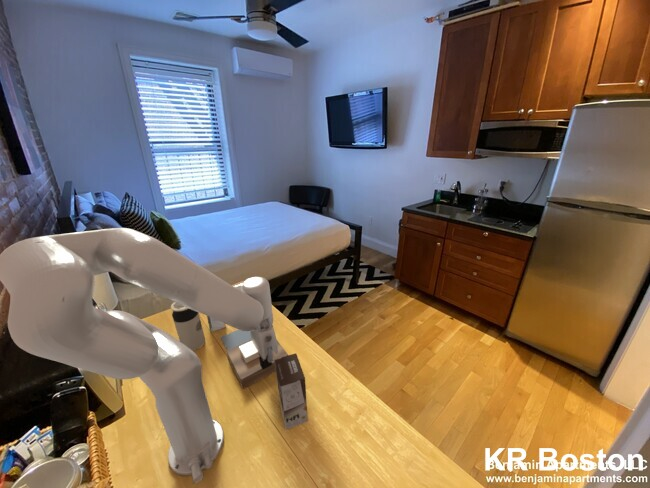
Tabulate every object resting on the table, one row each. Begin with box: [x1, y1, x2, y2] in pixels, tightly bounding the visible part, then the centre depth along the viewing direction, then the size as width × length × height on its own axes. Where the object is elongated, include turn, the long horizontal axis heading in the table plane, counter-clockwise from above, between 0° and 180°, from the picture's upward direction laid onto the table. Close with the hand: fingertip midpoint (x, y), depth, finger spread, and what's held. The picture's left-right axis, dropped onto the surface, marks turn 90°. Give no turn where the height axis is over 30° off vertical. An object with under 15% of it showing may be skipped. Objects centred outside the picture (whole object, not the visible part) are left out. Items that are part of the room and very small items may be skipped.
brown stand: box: [226, 338, 289, 390], centre depth 91 cm, size 14×16×4 cm
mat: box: [220, 329, 251, 351], centre depth 102 cm, size 12×15×1 cm
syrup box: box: [206, 315, 226, 332], centre depth 106 cm, size 6×6×14 cm
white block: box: [239, 341, 260, 363], centre depth 91 cm, size 6×9×2 cm, turn 126°
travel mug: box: [170, 301, 206, 352], centre depth 97 cm, size 8×8×18 cm
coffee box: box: [274, 353, 309, 430], centre depth 73 cm, size 9×6×16 cm
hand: (266, 365), depth 85 cm, fingers closed
